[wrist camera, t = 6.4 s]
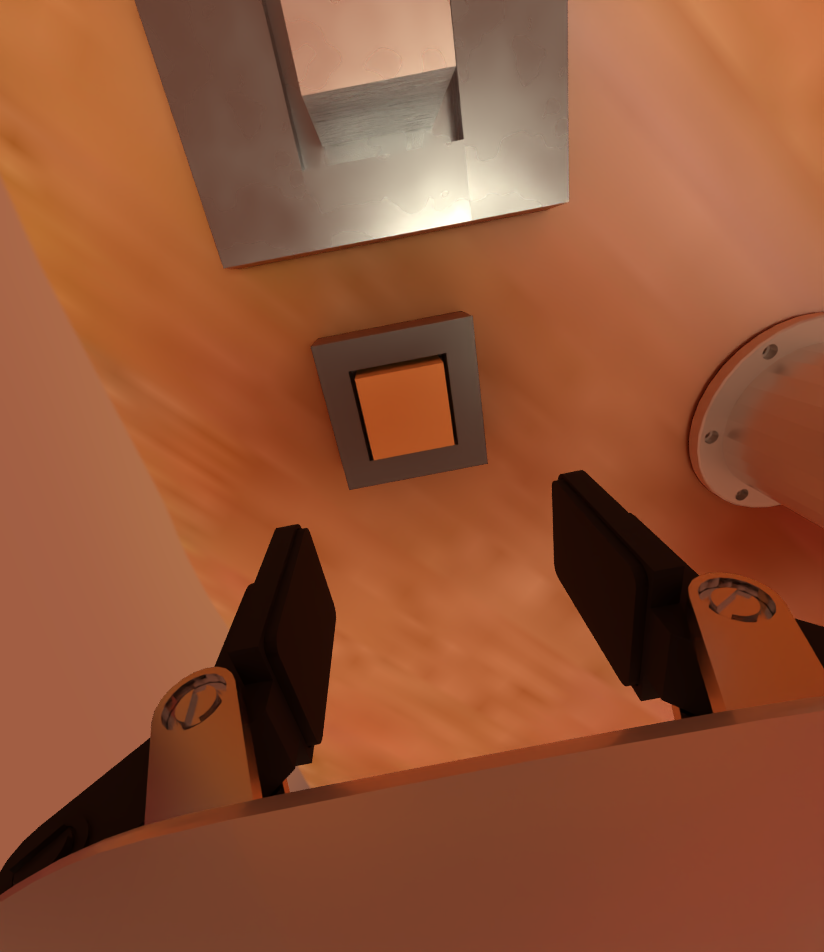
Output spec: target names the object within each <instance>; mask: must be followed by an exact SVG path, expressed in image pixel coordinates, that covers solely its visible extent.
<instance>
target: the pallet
mask: <svg viewBox="0 0 824 952" xmlns="http://www.w3.org/2000/svg"><path fill="white" fill-rule="evenodd" d="M135 3H136V6H137V9H138V12H139V15H140V18H141V21H142V24H143V27H144V30H145V33H146V36H147V39H148V42H149V45H150V48H151V51H152V54H153V57H154V60H155V63H156V66H157V69H158V72H159V75H160V78H161V81H162V84H163V87H164V90H165V93H166V96H167V99H168V102H169V105H170V108H171V111H172V114H173V117H174V120H175V123H176V126H177V129H178V132H179V135H180V138H181V141H182V144H183V147H184V151H185V154H186V157H187V160H188V163H189V166H190V169H191V172H192V175H193V178H194V181H195V184H196V187H197V190H198V193H199V196H200V199H201V202H202V205H203V208H204V211H205V214H206V217H207V220H208V223H209V226H210V229H211V232H212V235H213V238H214V241H215V244H216V247H217V250H218V253H219V256H220V259H221V262H222V265H223V268H228V269H242V268H247V267H252V266H257V265H263V264H268V263H273V262H278V261H283V260H289V259H294V258H299V257H304V256H309V255H315V254H320V253H325V252H330V251H335V250H341V249H346V248H351V247H356V246H361V245H366V244H372V243H377V242H382V241H387V240H392V239H398V238H403V237H408V236H413V235H418V234H424V233H429V232H434V231H439V230H444V229H450V228H455V227H460V226H465V225H470V224H475V223H481V222H486V221H491V220H496V219H501V218H507V217H512V216H517V215H522V214H527V213H533V212H538V211H543V210H548V209H551V208H554V207H556V206H559V205H562V204H564V203H567V202H569V138H568V0H450V8H451V19H452V29H453V39H454V50H455V60H456V67H455V70H454V72H453V75H452V78H451V80H450V83H449V85H448V88H447V90H446V93H445V96H444V98H443V101H442V103H441V106H440V109H439V111H438V114H437V116H436V119H435V121H434V124H433V126H429V127H423V128H418V129H413V130H408V131H403V132H398V133H392V134H387V135H382V136H377V137H372V138H367V139H361V140H356V141H351V142H346V143H341V144H336V145H330V146H325V147H323V146H322V144H321V142H320V139H319V137H318V134H317V132H316V129H315V127H314V125H313V122H312V120H311V117H310V115H309V113H308V110H307V108H306V105H305V103H304V100H303V98H302V95H301V91H300V86H299V82H298V77H297V73H296V68H295V64H294V59H293V55H292V50H291V46H290V41H289V37H288V32H287V28H286V23H285V19H284V14H283V10H282V5H281V1H280V0H135Z"/></svg>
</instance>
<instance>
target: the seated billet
mask: <svg viewBox="0 0 824 952" xmlns="http://www.w3.org/2000/svg"><path fill="white" fill-rule="evenodd" d="M280 1H281V5H282V10H283V14H284V19H285V23H286V28H287V32H288V37H289V41H290V46H291V50H292V55H293V59H294V64H295V68H296V73H297V77H298V82H299V86H300V91H301V95H302V98H303V100H304V103H305V105H306V108H307V110H308V113H309V115H310V117H311V120H312V122H313V125H314V127H315V129H316V132H317V134H318V137H319V139H320V142H321V144H322V146H323V147H325V146H330V145H336V144H341V143H346V142H351V141H356V140H361V139H367V138H372V137H377V136H382V135H387V134H392V133H398V132H403V131H408V130H413V129H418V128H423V127H429V126H433V124H434V121H435V119H436V116H437V114H438V111H439V109H440V106H441V103H442V101H443V98H444V96H445V93H446V90H447V88H448V85H449V83H450V80H451V78H452V75H453V72H454V70H455V67H456V60H455V50H454V39H453V29H452V19H451V8H450V0H280Z"/></svg>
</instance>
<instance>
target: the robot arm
mask: <svg viewBox="0 0 824 952" xmlns="http://www.w3.org/2000/svg"><path fill="white" fill-rule="evenodd" d="M689 455H690V459H691V463H692V467H693V470H694V471H695V473H696V475H697V477H698V478H699V480H700V482H701V483H702V484H703V485H704V486H705V487H706V488H707V489H708V490H710V491H711V492H713V493H714V494H716V495H717V496H719V497H720V498H722V499H723V500H725V501H728V502H730V503H732V504H735V505H739V506H745V507H751V508H757V507H772V506H777V505H783V506H785V507H787V508H789V509H790V510H792V511H794V512H796V513H797V514H799V515H801V516H803V517H805V518H806V519H808V520H810V521H812V522H813V523H815V524H817V525H819V526H820V527H822V528H824V312H818V313H812V314H807V315H802V316H798V317H795V318H793V319H790V320H787V321H785V322H782V323H779V324H777V325H775V326H774V327H772V328H770V329H768V330H767V331H765V332H763V333H761V334H759V335H758V336H756V337H755V338H754V339H753V340H751V341H750V342H749V343H747V344H746V345H745V346H743V347H742V348H741V349H740V350H738V351H737V352H736V353H735V354H734V355H733V356H732V357H731V358H730V359H729V360H728V362H727V363H726V364H725V365H724V366H723V367H722V368H721V369H720V371H719V372H718V373H717V375H716V376H715V377H714V379H713V380H712V381H711V382H710V384H709V385H708V387H707V389H706V391H705V393H704V394H703V396H702V398H701V400H700V402H699V404H698V406H697V409H696V412H695V415H694V417H693V420H692V425H691V430H690V436H689ZM552 507H553V540H554V566H555V571H556V574H557V576H558V578H559V580H560V582H561V583H562V585H563V587H564V588H565V590H566V592H567V593H568V595H569V597H570V598H571V600H572V602H573V603H574V605H575V607H576V608H577V610H578V612H579V613H580V615H581V616H582V618H583V620H584V621H585V623H586V625H587V626H588V628H589V630H590V631H591V633H592V635H593V636H594V638H595V640H596V641H597V643H598V645H599V646H600V648H601V650H602V651H603V653H604V655H605V656H606V658H607V660H608V661H609V663H610V665H611V666H612V668H613V670H614V671H615V673H616V675H617V676H618V678H619V680H620V681H621V682H622V684H623V685H624V686H632V688H633V689H634V691H635V692H636V694H637V696H638V697H639V699H640V700H641V701H645V700H650V699H655V698H661V699H662V700H663V701H665V702H668V703H670V704H672V710H673V715H674V719H675V720H673V721H668V722H662V723H657V724H651V725H646V726H640V727H635V728H629V729H624V730H618V731H613V732H607V733H602V734H596V735H591V736H585V737H580V738H574V739H569V740H564V741H558V742H553V743H548V744H542V745H537V746H531V747H526V748H521V749H515V750H510V751H505V752H499V753H494V754H489V755H483V756H478V757H473V758H467V759H462V760H457V761H452V762H446V763H441V764H436V765H430V766H425V767H420V768H414V769H409V770H404V771H399V772H394V773H389V774H383V775H378V776H373V777H368V778H363V779H358V780H352V781H347V782H342V783H337V784H332V785H327V786H321V787H316V788H311V789H306V790H301V791H296V792H290V791H289V787H288V782H287V777H288V776H289V775H290V773H292V771H293V770H294V769H295V766H299V765H304V764H309V763H312V758H313V750H314V745H317V744H320V743H321V741H322V737H323V728H324V720H325V711H326V702H327V693H328V685H329V676H330V667H331V658H332V649H333V641H334V632H335V623H336V612H335V607H334V603H333V600H332V597H331V594H330V591H329V588H328V585H327V582H326V579H325V576H324V573H323V570H322V567H321V564H320V561H319V558H318V555H317V552H316V549H315V546H314V543H313V540H312V537H311V534H310V532H309V530H308V528H304V529H302V528H301V526H300V525H299V524H296V525H290V526H285V527H280V528H276V530H275V531H274V534H273V537H272V539H271V542H270V544H269V547H268V549H267V552H266V554H265V557H264V560H263V562H262V565H261V567H260V570H259V572H258V575H257V577H256V580H255V582H254V583H252V584H250V585H249V586H248V587H247V589H246V591H245V593H244V596H243V598H242V601H241V603H240V606H239V608H238V611H237V613H236V615H235V618H234V620H233V623H232V625H231V628H230V630H229V632H228V635H227V638H226V640H225V642H224V645H223V647H222V650H221V652H220V655H219V657H218V659H217V662H216V664H215V667H211V668H205V669H202V670H199V671H196V672H194V673H192V674H190V675H189V676H187V677H185V678H183V679H182V680H181V681H179V682H178V683H177V684H176V685H174V686H173V687H172V688H171V689H170V690H169V691H168V692H167V693H166V694H165V695H164V697H163V698H162V699H161V700H160V702H159V704H158V706H157V707H156V709H155V711H154V714H153V718H152V722H151V736H150V738H149V739H148V740H147V741H145V742H144V743H143V744H142V745H140V746H139V747H138V748H137V749H135V750H134V751H133V752H132V753H130V754H129V755H128V756H127V757H125V758H124V759H123V760H122V761H121V762H119V763H118V764H117V765H116V766H114V767H113V768H112V769H111V770H109V771H108V772H107V773H106V774H105V775H103V776H102V777H101V778H99V779H98V780H97V781H96V782H94V783H93V784H92V785H91V786H89V787H88V788H87V789H86V790H84V791H83V792H82V793H81V794H79V796H77V797H76V798H74V799H73V800H72V801H71V802H69V803H68V804H67V805H66V806H64V807H63V808H62V809H61V810H60V811H58V812H57V813H56V814H54V815H53V816H52V817H51V818H49V819H48V820H47V821H46V822H45V823H43V824H42V825H41V826H40V827H38V828H37V829H36V831H34V832H33V833H32V834H31V835H30V836H29V837H27V838H26V839H25V840H24V841H23V842H22V843H21V845H20V846H19V847H18V848H17V849H16V850H15V852H14V853H13V854H12V855H11V856H10V858H9V859H8V860H7V862H6V863H5V865H4V866H3V868H2V870H1V872H0V952H824V627H822V626H819V625H815V624H812V623H808V622H805V621H801V620H798V619H795V618H794V617H793V615H792V613H791V612H790V610H789V608H788V607H787V605H786V603H785V602H784V601H783V599H782V598H781V597H780V596H779V595H778V594H777V593H776V592H775V591H773V590H772V589H771V588H769V587H768V586H766V585H764V584H762V583H760V582H758V581H756V580H754V579H751V578H748V577H745V576H741V575H738V574H731V573H724V572H720V573H707V574H703V575H700V576H699V575H698V574H697V573H696V572H695V571H694V570H692V569H691V568H690V567H689V566H688V565H687V564H686V563H685V562H684V561H683V560H682V559H681V558H680V557H678V556H677V555H676V554H675V553H674V552H673V551H672V550H671V549H670V548H669V547H668V546H667V545H666V544H665V543H663V542H662V541H661V540H660V539H659V538H658V537H657V536H656V535H655V534H654V533H653V532H652V531H651V530H649V529H648V528H647V527H646V526H645V525H644V524H643V523H642V522H641V521H640V520H639V519H638V518H637V517H636V516H634V515H633V514H631V513H628V512H627V511H626V510H625V509H624V508H623V507H622V506H621V505H620V504H619V503H618V502H617V501H616V500H614V499H613V498H612V497H611V496H610V495H609V494H608V493H607V492H606V491H605V490H604V489H603V488H602V487H601V486H600V485H599V484H597V483H596V482H595V481H594V480H593V479H592V478H591V477H590V476H589V475H588V474H587V473H586V472H585V471H583V470H580V471H574V472H569V473H564V474H560V475H559V477H558V480H557V481H553V483H552Z"/></svg>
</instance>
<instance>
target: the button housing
mask: <svg viewBox="0 0 824 952" xmlns="http://www.w3.org/2000/svg"><path fill="white" fill-rule="evenodd" d="M311 350H312V353H313V357H314V361H315V364H316V368H317V372H318V376H319V379H320V383H321V387H322V390H323V394H324V398H325V401H326V405H327V409H328V413H329V416H330V420H331V424H332V427H333V431H334V435H335V439H336V442H337V446H338V450H339V453H340V457H341V461H342V464H343V468H344V472H345V476H346V479H347V483H348V487H349V490H352V489H357V488H362V487H367V486H373V485H378V484H383V483H388V482H394V481H399V480H404V479H409V478H415V477H420V476H425V475H430V474H436V473H441V472H446V471H451V470H457V469H462V468H467V467H472V466H478V465H483V464H488V462H487V452H486V442H485V433H484V423H483V413H482V403H481V394H480V384H479V374H478V364H477V355H476V345H475V335H474V325H473V316H472V315H469V314H467V313H465V312H462V311H459V312H454V313H448V314H443V315H438V316H433V317H428V318H422V319H417V320H412V321H407V322H401V323H396V324H391V325H386V326H381V327H375V328H370V329H365V330H360V331H355V332H349V333H344V334H339V335H334V336H329V337H323V338H318V339H317V340H316V342H315V343H314V344H313V345H312V346H311ZM433 355H438V356H439V358H440V359H441V360H442V362H443V364H444V372H445V379H446V386H447V393H448V401H449V408H450V415H451V423H452V430H453V437H454V444H455V445H452V446H446V447H441V448H436V449H431V450H425V451H420V452H415V453H410V454H404V455H399V456H394V457H389V458H383V459H378V460H374V459H373V455H372V450H371V446H370V442H369V438H368V433H367V429H366V425H365V420H364V416H363V412H362V408H361V403H360V399H359V395H358V390H357V386H356V382H355V377H356V372H357V370H360V369H365V368H370V367H375V366H381V365H386V364H391V363H396V362H401V361H407V360H412V359H417V358H422V357H428V356H433Z"/></svg>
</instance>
